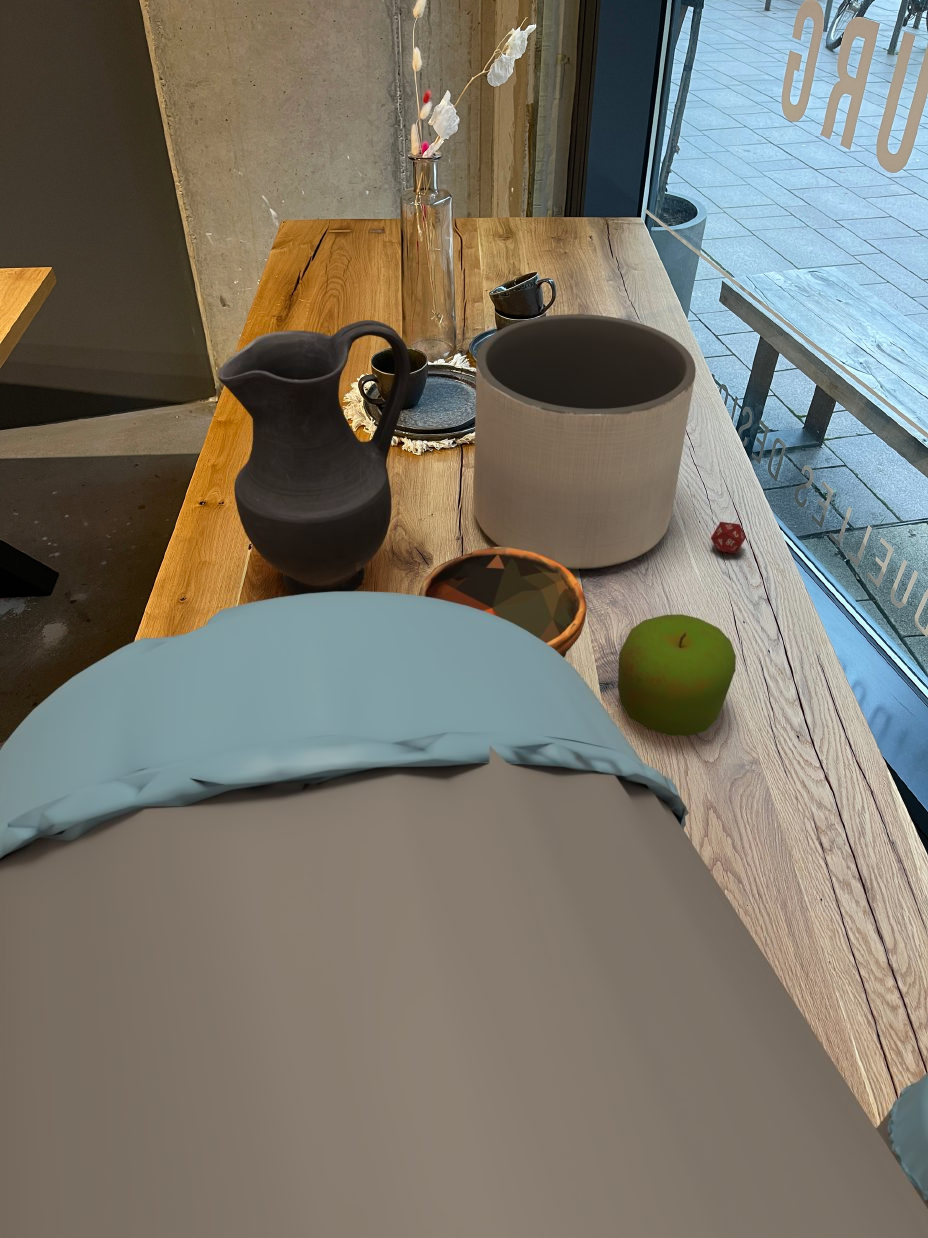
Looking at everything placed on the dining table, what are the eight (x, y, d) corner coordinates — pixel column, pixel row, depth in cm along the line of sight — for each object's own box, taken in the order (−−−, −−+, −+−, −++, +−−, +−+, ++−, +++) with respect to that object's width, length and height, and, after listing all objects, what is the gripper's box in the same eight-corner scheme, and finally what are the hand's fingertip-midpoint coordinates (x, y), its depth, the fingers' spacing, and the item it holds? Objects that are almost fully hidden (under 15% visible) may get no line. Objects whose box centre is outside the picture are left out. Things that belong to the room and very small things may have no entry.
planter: (624, 453, 131) (644, 302, 116) (702, 559, 112) (738, 396, 98) (452, 478, 126) (450, 324, 111) (505, 593, 108) (511, 427, 93)
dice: (703, 541, 115) (709, 515, 112) (738, 540, 115) (745, 514, 113) (711, 560, 112) (717, 534, 110) (747, 559, 113) (754, 533, 110)
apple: (710, 671, 98) (730, 594, 91) (731, 749, 90) (755, 671, 83) (607, 670, 98) (618, 593, 91) (618, 748, 90) (632, 670, 83)
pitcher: (234, 556, 113) (185, 323, 93) (388, 511, 120) (374, 286, 100) (280, 641, 101) (235, 397, 81) (447, 586, 109) (444, 349, 89)
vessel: (581, 802, 85) (603, 647, 72) (429, 814, 84) (422, 659, 71) (556, 691, 96) (571, 538, 83) (420, 700, 95) (413, 546, 82)
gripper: (657, 1216, 51) (374, 941, 63) (777, 1045, 58) (501, 827, 70) (679, 1170, 46) (366, 881, 58) (807, 989, 53) (504, 764, 65)
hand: (440, 851), depth 64 cm, fingers closed
